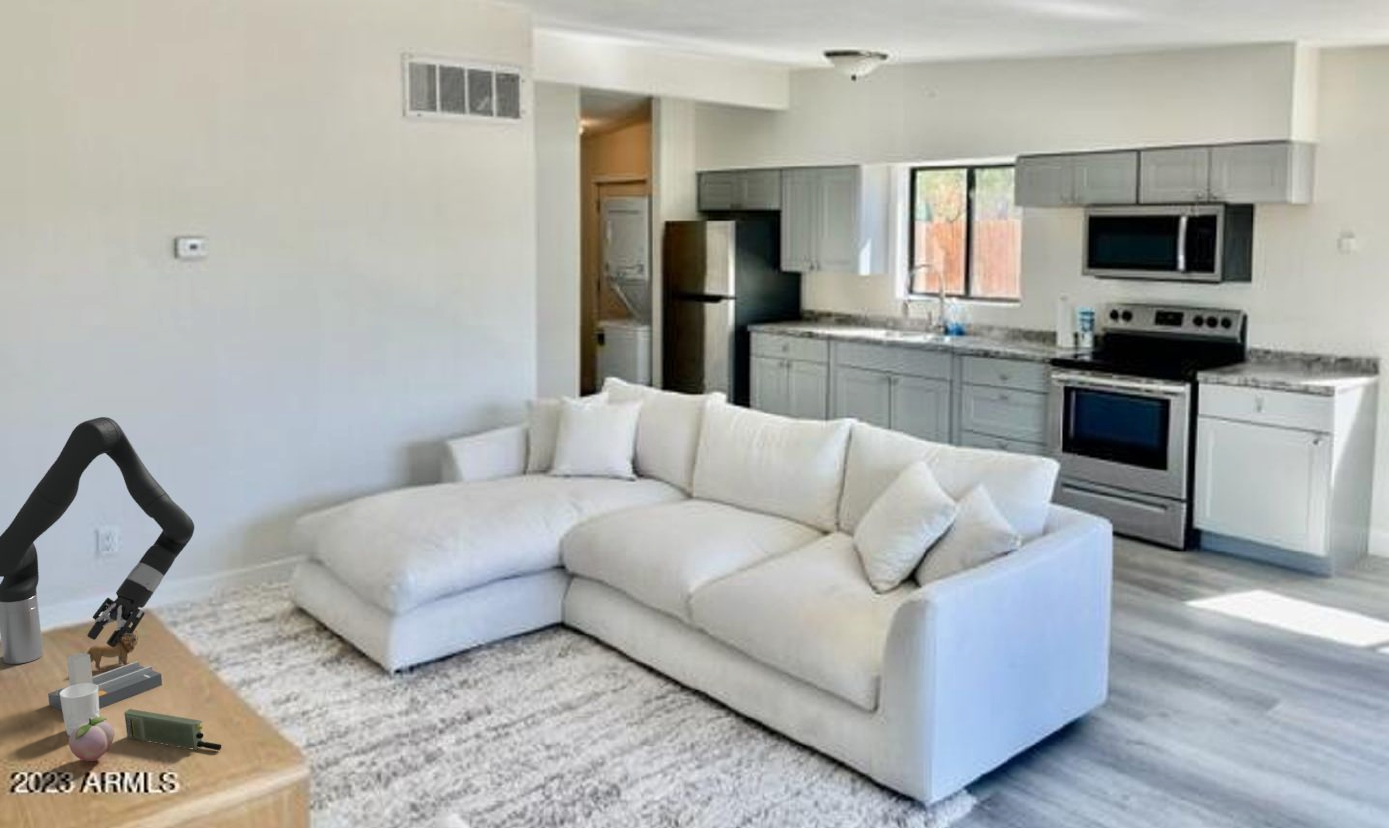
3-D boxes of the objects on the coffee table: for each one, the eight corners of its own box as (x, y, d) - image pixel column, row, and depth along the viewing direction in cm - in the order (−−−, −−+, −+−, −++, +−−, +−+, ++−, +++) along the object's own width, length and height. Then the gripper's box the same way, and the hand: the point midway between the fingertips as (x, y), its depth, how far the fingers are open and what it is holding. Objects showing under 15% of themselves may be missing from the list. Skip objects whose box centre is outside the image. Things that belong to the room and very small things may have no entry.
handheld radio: (135, 733, 263) (225, 749, 256) (125, 740, 260) (215, 756, 253) (132, 707, 262) (222, 722, 254) (121, 713, 259) (212, 729, 251)
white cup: (109, 727, 266) (105, 687, 264) (79, 741, 259) (75, 700, 257) (86, 720, 269) (82, 680, 267) (56, 734, 262) (51, 693, 260)
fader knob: (69, 691, 277) (65, 657, 275) (85, 686, 280) (82, 651, 278) (78, 695, 275) (75, 660, 273) (94, 689, 278) (91, 655, 276)
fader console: (49, 705, 277) (47, 687, 276) (134, 674, 295) (133, 657, 294) (76, 717, 271) (74, 699, 270) (162, 684, 289) (160, 668, 288)
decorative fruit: (86, 750, 254) (81, 708, 253) (122, 751, 254) (118, 709, 252) (61, 771, 245) (57, 728, 243) (99, 772, 245) (94, 728, 243)
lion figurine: (136, 656, 307) (133, 624, 305) (143, 662, 303) (141, 630, 302) (77, 672, 296) (74, 639, 295) (85, 678, 293) (81, 645, 291)
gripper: (113, 572, 288) (72, 629, 281) (146, 583, 281) (105, 641, 273) (134, 586, 294) (95, 642, 286) (167, 597, 286) (128, 655, 279)
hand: (100, 642), depth 280 cm, fingers open, 8 cm apart
